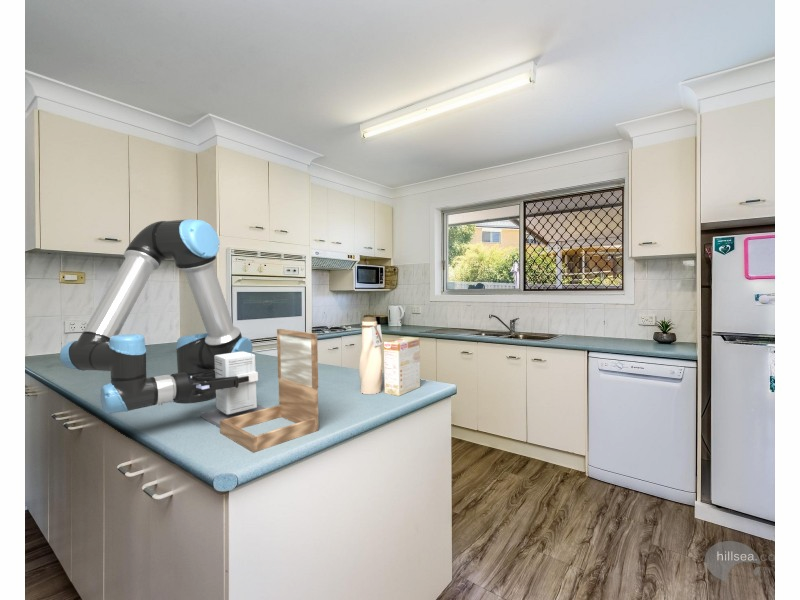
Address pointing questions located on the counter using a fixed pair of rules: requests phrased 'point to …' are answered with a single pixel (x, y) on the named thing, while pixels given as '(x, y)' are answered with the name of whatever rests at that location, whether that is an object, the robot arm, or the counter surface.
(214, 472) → the counter surface
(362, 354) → the water bottle
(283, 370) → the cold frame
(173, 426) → the counter surface
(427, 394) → the counter surface
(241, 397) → the supplement box
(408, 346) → the coffeecake box
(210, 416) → the mat
